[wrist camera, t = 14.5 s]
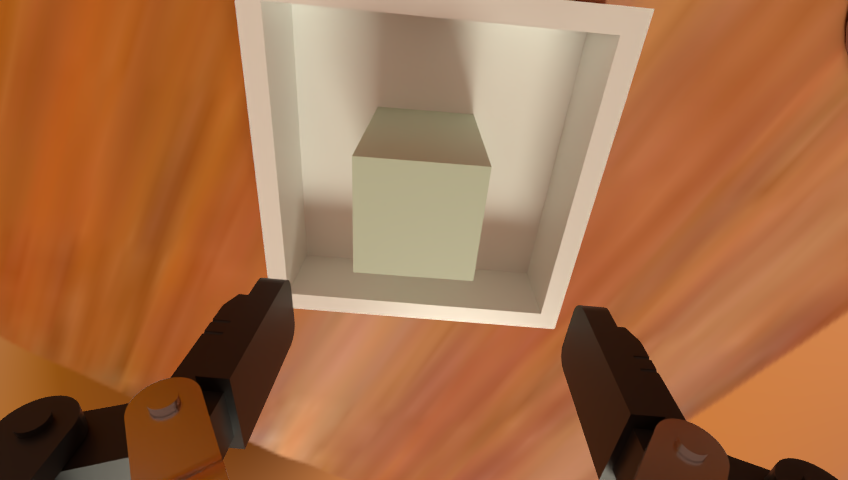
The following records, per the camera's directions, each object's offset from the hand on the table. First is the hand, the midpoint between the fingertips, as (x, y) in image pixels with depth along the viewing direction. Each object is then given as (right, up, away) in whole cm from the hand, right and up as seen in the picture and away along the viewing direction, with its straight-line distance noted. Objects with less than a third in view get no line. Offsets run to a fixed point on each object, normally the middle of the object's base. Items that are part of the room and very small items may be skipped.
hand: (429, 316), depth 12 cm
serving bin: (0, +7, +12) cm, 14 cm away
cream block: (0, +7, +11) cm, 13 cm away
